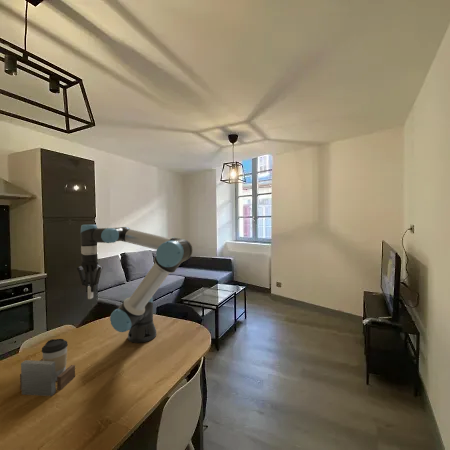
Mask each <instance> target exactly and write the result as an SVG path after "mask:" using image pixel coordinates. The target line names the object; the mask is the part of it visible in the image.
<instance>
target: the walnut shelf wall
mask: <svg viewBox="0 0 450 450" xmlns="http://www.w3.org/2000/svg"><path fill="white" fill-rule="evenodd" d="M39 361H43V358H42V359H40V360H39ZM74 378H76V365H75V364H70V366H69V367H66V370H65V371H64V372H63V373H61V374H60V375H59V376H58V377H57V381H56V382H57V383H56V384H57V388H56V389H57V391H62V390H63V389H64V388H65V387H66V386H67V385H68V384H69V383H70V382H71V381H73V379H74ZM19 388H20V390H21V391H22V382H21V373H20V374H19Z"/></svg>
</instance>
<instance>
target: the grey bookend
mask: <svg viewBox="0 0 450 450" xmlns="http://www.w3.org/2000/svg"><path fill="white" fill-rule="evenodd" d="M20 374H21V382H22V390H21V395H25V396H26V395H27V396H39V397H40V396H42V397H53V396H54V395H55V393H56V392H57V391H56V389H57V388H56V384H57V383H56V382H57V381H55V361H40V360H31V359H30V360H29V359H28V360H27V359H26V360H24V361H22V362H20Z"/></svg>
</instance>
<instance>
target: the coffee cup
mask: <svg viewBox="0 0 450 450" xmlns="http://www.w3.org/2000/svg"><path fill="white" fill-rule="evenodd" d="M41 353H42V359H43V361H55V381H56V382H57V377H58V376H59V375H60V374H61V373H63V372H64V371H65V370H66V369H67V363H68V362H67V360H68V341H67V340H66V339H63V338H56V339H50V340H48V341H47V342H46V343H45V344H44V345H43V346H42V348H41Z"/></svg>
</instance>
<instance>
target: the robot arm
mask: <svg viewBox="0 0 450 450" xmlns="http://www.w3.org/2000/svg"><path fill="white" fill-rule="evenodd" d="M79 234H80V251H81V252H80V254H81V259H80V260H81V264H80V266H78V267H76V270H77V271H78V274H79V278H80V282H81V285H82V286H85V292H86V293H87V300H92V299H94V292H96V291H95V290H96V288H95V286H97V285H98V284H99V283H100V278H101V273H102V270H103V269H104V266H102V265H99V262H98V261H99V259H98V258H99V256H98V244H99V243H100V244H101V243H103V244H112V243H113V244H114V243H116V242H124V243H128V244H133V245H136V246H140V247H145V248H149V249H152V250H156V252H155V257H154V259H153V261H154V264H153V265H152V267H151V268H150V269H149V271H148V272H147V273H146V275H145V277H143V279H142V280H141V282H140V283H139V284H138V286H137V288H136V289H135V290H134V291H133V293H132V294H131V296H130V297H127V298H125V299H124V300H123V302H122V303H121V304H120V306H119V307H118V308H116V309H114V310H113V311H112V312H111V314H110V316H109V322H110V324H111V326H112V328H113V329H114V330H115V331H117V332H118V333H126V332H127V331H128V333H127V339H128V341H129V342H131V343H133V344H134V343H135V344H141V343H142V344H143V343H146V342H149V341H152V340H153V339H155V338H156V337H157V329H156V326H155V323H154V300H153V299H154V298H153V297H154V294H156V292H157V291H158V290H159V288H160V286H162V284H163V283H164V281H165V280H166V278H168V276H169V274H174V273H175V272H176V271H177V269H178V268H179V266H180V265H181V264H182V263H183V262H186V261H187V260H189V259H190V258H191V256H192V254H193V245H192V243H191V242H190V241H188V240H187V239H186V238H178V237H174V236H173V237H170V238H169V237H165V236H162V235H161V236H160V235H156V234H152V233H147V232H144V231H139V230H134V229H131V228H129V227H126V226H121V227H107V228H106V227H105V228H103V227H102V228H101V227H99V228H98V226H97V224H82V225H81V226H80V233H79Z"/></svg>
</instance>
